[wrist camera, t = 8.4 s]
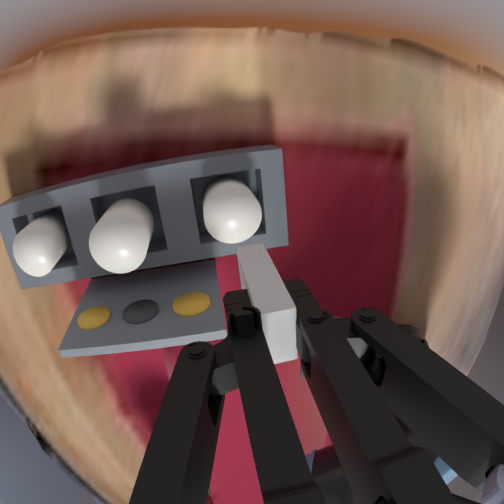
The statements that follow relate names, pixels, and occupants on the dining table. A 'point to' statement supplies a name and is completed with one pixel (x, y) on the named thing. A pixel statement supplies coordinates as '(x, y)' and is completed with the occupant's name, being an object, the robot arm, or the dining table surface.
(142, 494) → the robot arm
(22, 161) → the dining table surface
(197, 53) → the dining table surface
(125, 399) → the dining table surface
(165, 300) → the card
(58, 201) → the button board
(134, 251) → the button middle
